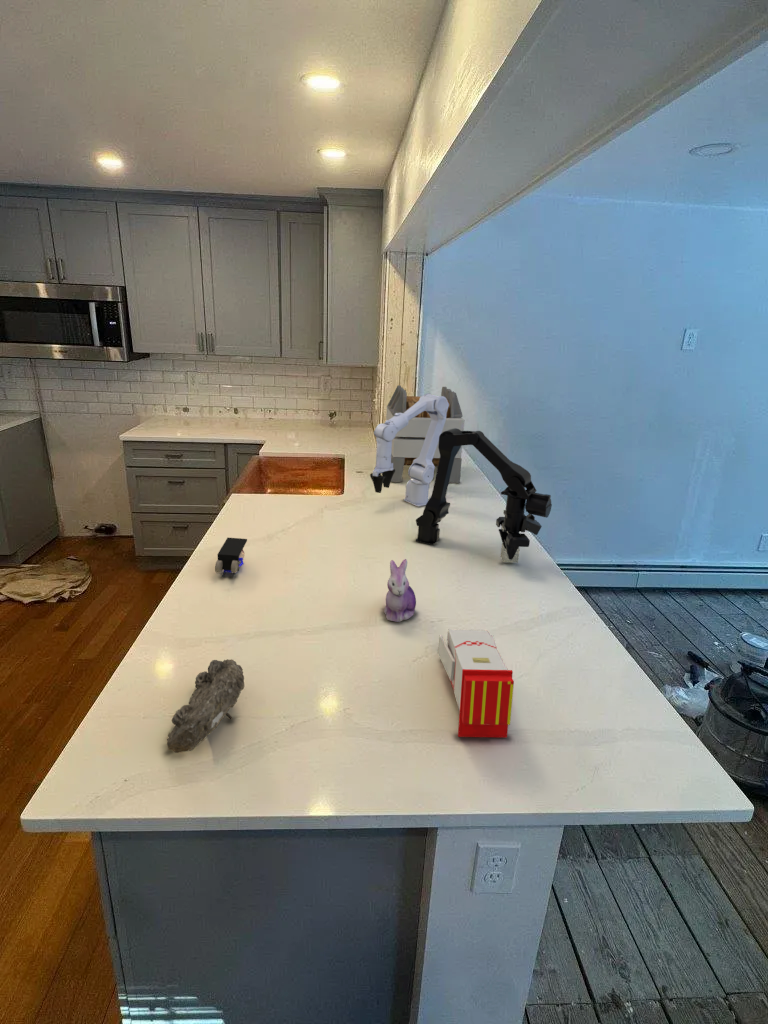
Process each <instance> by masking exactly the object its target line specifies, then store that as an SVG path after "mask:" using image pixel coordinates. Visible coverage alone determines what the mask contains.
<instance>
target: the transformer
mask: <svg viewBox="0 0 768 1024" xmlns="http://www.w3.org/2000/svg"><path fill="white" fill-rule="evenodd" d="M440 393H441V394H440V396H444V397H445V398H446V399H447V401H448V403H449V407H448V410H447V413H446V421H445V424H444V427H443V430H442V433H443V432H444V431H447V430H450V429H454V428H457V429H459V430H461V431H465V430H464V429H465V419H464V418H463V411H462V408H461V405H460V402H459V398H458V395H457V392H455V391H453V390H452V389H451V388H447V386H442V387H441V392H440ZM407 394H408V393H407V390H406V389H404V388H403V387H402V385H399V384H398V385H397V386H396V388H395V390H394V392H393V394H392V395H391V398H390V400H389V402H388V404H387V405H386V413H385V414H386V415H385V421H387V420H389V419H391V418H392V417H394V416H395V415H394V414H396V413H404V412H405V411H407V410H408V409H409V408H410V407H412V406H413V405H414V404H415V403H416V402H418V401H419V399H420V397H421V396H415V395H414V396H413V395H412V396H411V395H407ZM430 422H431V417H430V415H429V414H428V413H427V412H426V411H423V412H422V413H420V414H418V415H417V416H415V417H414V418H412V419H410V420H409V421H408V425H407V426H406V427H404V428H403V429H401V430H400V431H399V432H397V434H396V435H395V438H394V439H393V440H392V451H391V463H393V469H395V473H394V474H393V476H392V479H391V482H390V483H402V482H403V475H404V469H405V466H406V467H407V466H409V467H410V466H411V465H412V463H413V461H414V460H415V459H416V458H418V457H419V455H420V452H421V449H422V446H423V443H424V440H425V437H426V434H427V431H428V428H429V425H430ZM438 446H439V442H438V444H437V447H436V450H435V453H434V456H433V459H432V463H433V464H434V466H435V467H436V468H437V469H438V464H439V460H440V452H439V448H438ZM462 453H463V446H461V448H460V450H459V451H458V453H457V454H456V456H455V458H454V462H453V467H452V471H451V475H450V480H449V484H455V483H456V484H459V483H461V472H462V461H463V460H462ZM422 466H423V467H424V465H422Z"/></svg>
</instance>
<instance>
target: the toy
mask: <svg viewBox="0 0 768 1024" xmlns="http://www.w3.org/2000/svg"><path fill="white" fill-rule="evenodd" d="M446 640H447V643H446V641H445V639H444V636H443V635H442V634H439V637H438V646H437V656H438V657H439V659H440V661H441V663H442V666H443V668H444V670H445V672H446V674H447V677H448V679H449V681H450V684H451V687H452V690H453V693H454V697H455V701H456V705H457V708H458V711H459V714H458V715H459V716H458V730H457V731H458V732H457V737H458V738H508V731H509V726H510V725H511V717H512V707H513V697H514V696H513V695H514V684H515V680H514V679H513V673H514V671H513V670H512V669H508V667H507V665H506V662H505V661H504V659H503V658H502V655H501V653H500V651H499V649H498V647H497V643H496V639H495V637H494V635H493V634H491V632H490V631H489V629H467V628H466V629H465V628H463V629H461V628H460V629H459V628H448V630H447V639H446Z"/></svg>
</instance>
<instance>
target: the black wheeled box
mask: <svg viewBox="0 0 768 1024" xmlns="http://www.w3.org/2000/svg"><path fill="white" fill-rule="evenodd" d="M247 542H248V538H240V537H226V539H225V541H224V543H223V544H222V546H221V547H220V549H219V551H218V552H217V560H216V562H215V564H214V572H215V573H221V577H222V578H224V577H225V576H226V574H227V573H230V574H231V573H232V574H231V578H234V577H235V575H236V573H237V572H239V571H240V567H242V566H243V565H244V564H245V562H244V558H245V551H244V547H245V546H246V544H247Z"/></svg>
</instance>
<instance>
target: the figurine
mask: <svg viewBox="0 0 768 1024" xmlns="http://www.w3.org/2000/svg"><path fill="white" fill-rule="evenodd" d="M407 567H408V559H406V558H404V559H403V560H402V561H401V563H400V565H399V566H398V565H397V563H396V562H395V561H394V560H393V559H391V560H390V561H389V570H390V576H389V578H388V579H387V589H388V591H387V592H386V594H385V595H386V596H385V607H384V615H385V616H386V620H387V621H391V622H395V623H400V622H402V621H406V620H409V619H410V618H411V617H413V616H414V615H415V610H416V606H417V597H416V593H415V591H414V590H413V587H411V586H410V582H409V579H408V577H407V574H406V571H407Z"/></svg>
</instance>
